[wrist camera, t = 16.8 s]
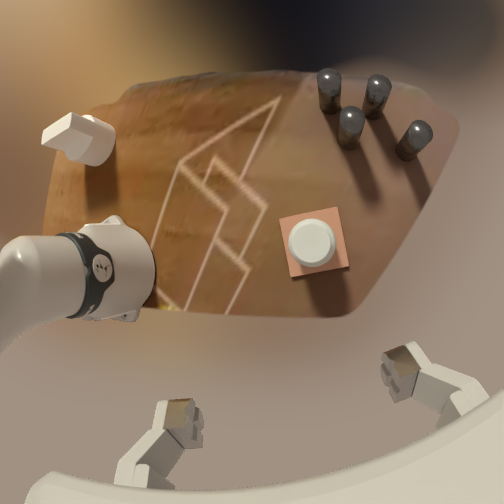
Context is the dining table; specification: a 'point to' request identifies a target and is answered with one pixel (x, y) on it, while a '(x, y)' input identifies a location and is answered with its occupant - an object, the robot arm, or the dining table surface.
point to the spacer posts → (367, 113)
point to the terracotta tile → (334, 222)
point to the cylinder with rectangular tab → (81, 138)
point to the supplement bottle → (312, 242)
